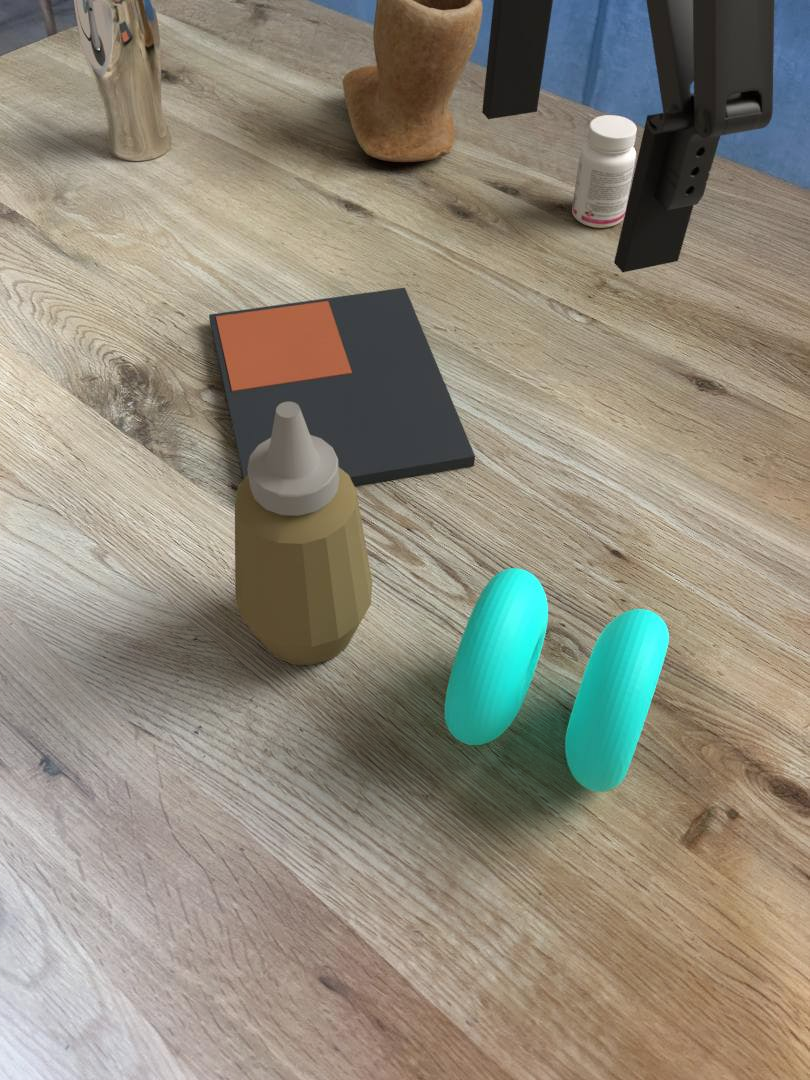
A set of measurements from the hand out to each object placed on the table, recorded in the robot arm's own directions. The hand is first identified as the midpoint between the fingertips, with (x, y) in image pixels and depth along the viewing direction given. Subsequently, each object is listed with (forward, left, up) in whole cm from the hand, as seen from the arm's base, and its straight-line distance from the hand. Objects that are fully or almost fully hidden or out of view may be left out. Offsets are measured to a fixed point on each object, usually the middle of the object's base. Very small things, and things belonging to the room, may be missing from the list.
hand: (571, 181), depth 49 cm
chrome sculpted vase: (-57, -19, -27) cm, 66 cm away
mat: (-18, -8, -27) cm, 33 cm away
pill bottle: (-36, +20, -27) cm, 49 cm away
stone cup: (-54, +7, -27) cm, 61 cm away
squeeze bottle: (+3, -14, -27) cm, 31 cm away
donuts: (+13, -2, -27) cm, 30 cm away
